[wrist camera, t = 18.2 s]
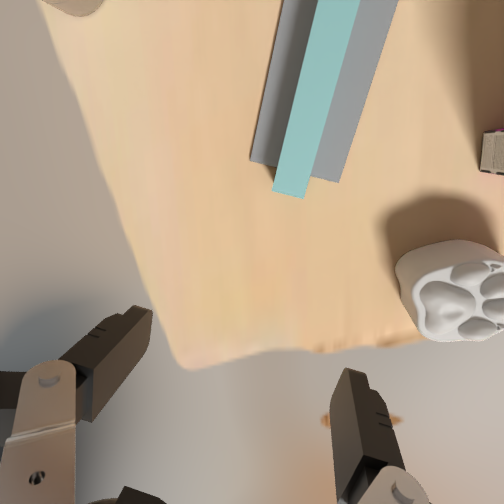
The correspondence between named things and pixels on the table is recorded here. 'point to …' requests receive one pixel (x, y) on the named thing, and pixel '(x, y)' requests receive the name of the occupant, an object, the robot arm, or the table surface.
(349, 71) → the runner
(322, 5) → the teal bar
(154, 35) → the table surface
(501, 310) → the white paw stamp
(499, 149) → the candy bar box
